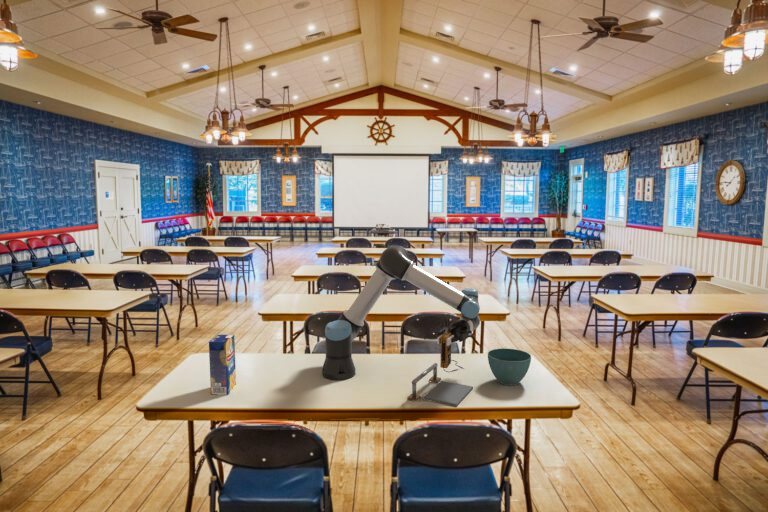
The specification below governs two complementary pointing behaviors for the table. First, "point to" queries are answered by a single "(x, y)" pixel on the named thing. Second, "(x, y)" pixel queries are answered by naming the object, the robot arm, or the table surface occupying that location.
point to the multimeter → (446, 349)
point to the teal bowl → (509, 365)
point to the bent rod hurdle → (432, 379)
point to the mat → (448, 393)
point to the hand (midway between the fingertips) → (442, 341)
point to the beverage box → (222, 364)
